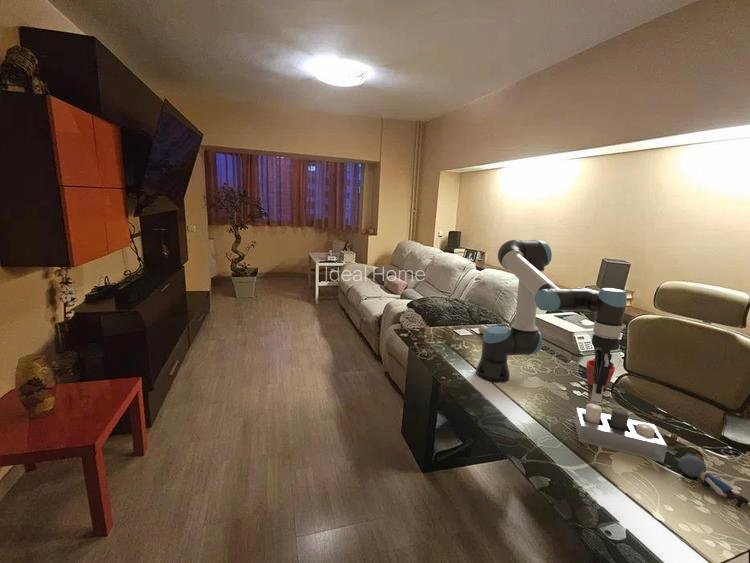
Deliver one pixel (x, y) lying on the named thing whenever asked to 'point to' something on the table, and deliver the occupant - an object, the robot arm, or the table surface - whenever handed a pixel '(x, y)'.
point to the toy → (707, 477)
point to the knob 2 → (645, 430)
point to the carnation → (482, 329)
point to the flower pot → (591, 369)
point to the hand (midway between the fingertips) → (596, 400)
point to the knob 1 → (593, 414)
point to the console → (620, 437)
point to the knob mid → (619, 419)
